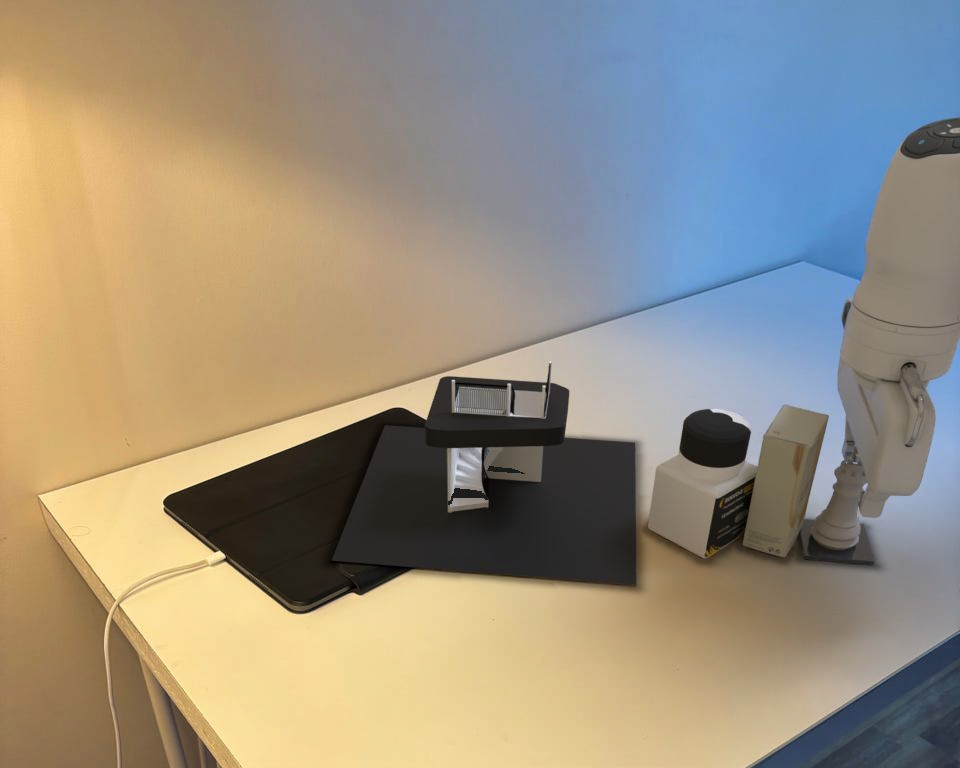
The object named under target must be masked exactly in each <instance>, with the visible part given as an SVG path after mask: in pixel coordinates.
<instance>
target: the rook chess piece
mask: <svg viewBox="0 0 960 768" xmlns="http://www.w3.org/2000/svg"><path fill="white" fill-rule="evenodd" d="M853 461H854V459H848V461H847V462H846V461H845V460H844V459H843V460H841V462H840V465H839V466H838V467H836V468H835V469H834V472H833V474H834V476H835V478H836V482H835V483H833V484H832V490H833V491H832V496H831V497H830V499H829V501H828V503H827V506H826V508H825V509H823V510H822V511H821V513H819V514H818V515H817V516H816V518H814V520H815V521H814V526H813V527H812V529H811V533H812V535H813V537H814V539H815V541H816V542H817V543H818V544H820V545H821V546H823V547H826V548H828V549H833V550H845V549H849V548H851V547H853V546H854V545H855V544H856V543H857V542H858V541H859V536H858V535H859V534H860V530H861V525H860V524H861V523H860V518H859V517H858V511H859V506H858V502H859V500H860V495H861V491H865V489H864V488H863V487H864V486H865V485H866V484H868V483H867V478H866V475H865V472H864V469H863V466H862V463H861V460H858V463H855V462H853Z"/></svg>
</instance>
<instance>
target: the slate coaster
mask: <svg viewBox="0 0 960 768" xmlns="http://www.w3.org/2000/svg"><path fill="white" fill-rule="evenodd" d="M814 521H815V519H809V518H804V521H803V525H802V527H801V529H800V532H799V534H798V536H799V540H800V545H801V551H802V555H803V560H815V561H823V562H836V563H847V564H848V563H849V564H858V565H859V564H860V565H871V566H873V565H874V566H875V564H876V560H875V557H874V554H873V553H874V552H873V550H872V546H871V543H870V540H869V537H868V533H867V530H866V527H865V523H859V524H860V525H861V530H860V534H859V535H858V536H859V541H858V542H857V543H856V544H855V545H854V546H853V547H851V548H849V549H845V550H833V549H828V548H826V547H823V546H821V545H820V544H818V543H817V542H816V541H815V539H814V537H813V535H812V533H811V529H812V527H813V526H814Z"/></svg>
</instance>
